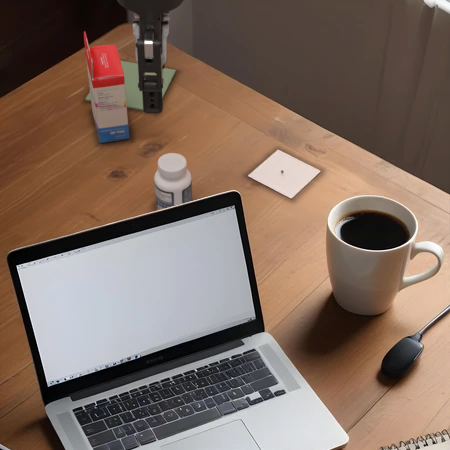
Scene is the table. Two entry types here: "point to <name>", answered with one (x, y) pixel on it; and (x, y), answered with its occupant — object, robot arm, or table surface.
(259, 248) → the table surface
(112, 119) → the ink box
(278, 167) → the coaster
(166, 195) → the pill bottle
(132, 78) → the felt mat
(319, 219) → the table surface
